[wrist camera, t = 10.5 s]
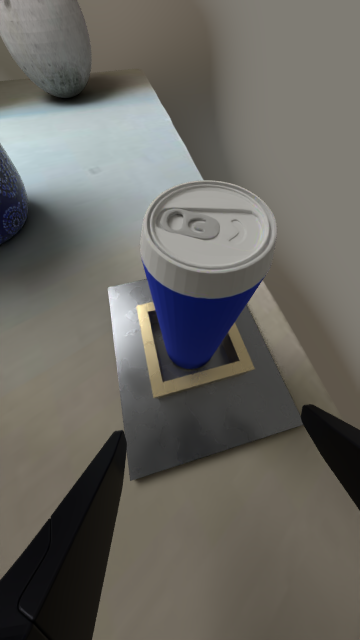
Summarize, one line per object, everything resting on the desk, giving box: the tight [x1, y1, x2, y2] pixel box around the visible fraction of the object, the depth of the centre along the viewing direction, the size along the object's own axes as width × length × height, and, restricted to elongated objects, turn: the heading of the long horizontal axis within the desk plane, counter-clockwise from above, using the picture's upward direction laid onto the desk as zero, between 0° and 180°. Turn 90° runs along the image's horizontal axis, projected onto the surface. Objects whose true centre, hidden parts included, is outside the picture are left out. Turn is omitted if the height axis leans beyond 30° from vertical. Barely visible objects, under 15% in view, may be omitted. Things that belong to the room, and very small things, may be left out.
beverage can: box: [140, 180, 277, 369], centre depth 13 cm, size 5×5×15 cm
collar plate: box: [108, 279, 303, 481], centre depth 19 cm, size 20×16×4 cm
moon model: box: [0, 0, 91, 98], centre depth 44 cm, size 20×20×20 cm
